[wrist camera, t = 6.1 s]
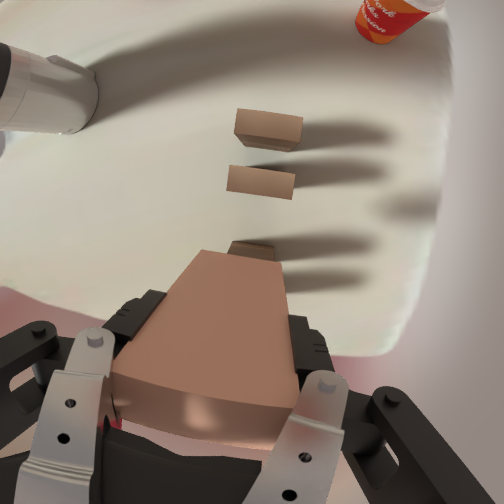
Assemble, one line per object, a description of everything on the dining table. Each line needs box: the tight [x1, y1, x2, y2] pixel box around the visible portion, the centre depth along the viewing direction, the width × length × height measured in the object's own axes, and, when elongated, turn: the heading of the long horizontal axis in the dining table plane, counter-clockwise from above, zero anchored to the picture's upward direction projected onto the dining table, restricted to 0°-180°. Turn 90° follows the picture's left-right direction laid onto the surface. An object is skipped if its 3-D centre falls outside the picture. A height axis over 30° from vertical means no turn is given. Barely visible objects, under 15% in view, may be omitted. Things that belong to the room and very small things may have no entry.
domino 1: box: [111, 250, 300, 450], centre depth 12 cm, size 2×5×12 cm, turn 81°
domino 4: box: [227, 241, 275, 262], centre depth 29 cm, size 2×5×12 cm, turn 82°
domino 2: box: [234, 108, 303, 152], centre depth 26 cm, size 2×5×12 cm, turn 82°
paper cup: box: [355, 0, 445, 44], centre depth 19 cm, size 8×8×14 cm
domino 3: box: [226, 165, 296, 200], centre depth 27 cm, size 2×5×12 cm, turn 82°
